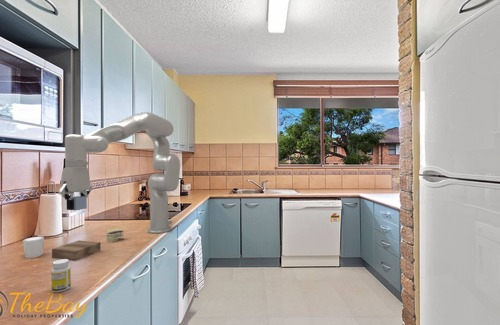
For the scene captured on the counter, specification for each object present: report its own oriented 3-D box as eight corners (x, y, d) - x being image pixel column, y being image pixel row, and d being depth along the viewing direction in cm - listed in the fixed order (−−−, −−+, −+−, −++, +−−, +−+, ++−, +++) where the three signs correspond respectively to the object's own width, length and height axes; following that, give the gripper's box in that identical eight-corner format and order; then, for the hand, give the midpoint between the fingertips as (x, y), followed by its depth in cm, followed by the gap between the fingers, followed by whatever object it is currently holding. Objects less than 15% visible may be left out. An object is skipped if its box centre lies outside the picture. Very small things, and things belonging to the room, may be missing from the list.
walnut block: (78, 249, 119) (78, 240, 119) (100, 251, 116) (100, 242, 116) (52, 258, 108) (51, 249, 108) (75, 261, 104) (75, 251, 104)
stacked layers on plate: (113, 245, 125) (113, 233, 125) (99, 243, 128) (99, 231, 128) (130, 239, 134) (130, 228, 134) (116, 237, 138) (116, 226, 138)
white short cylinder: (27, 253, 113) (26, 237, 113) (46, 251, 115) (46, 235, 115) (19, 259, 106) (19, 241, 106) (40, 257, 109) (40, 239, 109)
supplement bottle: (62, 284, 84) (62, 257, 84) (74, 286, 83) (74, 259, 83) (47, 291, 80) (47, 263, 80) (59, 293, 78) (59, 265, 78)
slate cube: (77, 207, 115) (77, 196, 115) (86, 208, 113) (86, 196, 113) (66, 209, 110) (66, 197, 110) (76, 210, 109) (75, 198, 109)
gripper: (86, 164, 121) (87, 204, 121) (48, 164, 105) (49, 211, 105) (100, 164, 119) (100, 205, 119) (63, 164, 102) (64, 212, 102)
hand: (76, 207), depth 112 cm, fingers closed on slate cube, 5 cm apart
